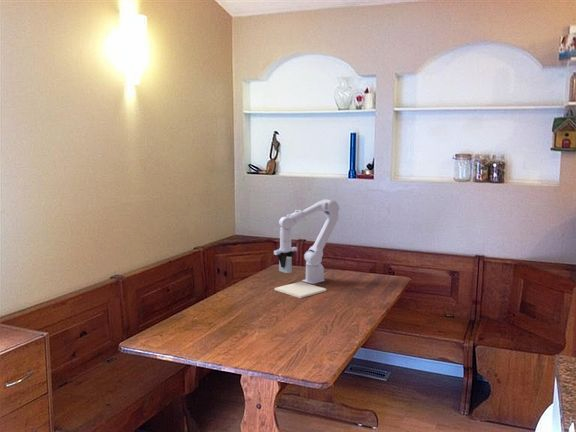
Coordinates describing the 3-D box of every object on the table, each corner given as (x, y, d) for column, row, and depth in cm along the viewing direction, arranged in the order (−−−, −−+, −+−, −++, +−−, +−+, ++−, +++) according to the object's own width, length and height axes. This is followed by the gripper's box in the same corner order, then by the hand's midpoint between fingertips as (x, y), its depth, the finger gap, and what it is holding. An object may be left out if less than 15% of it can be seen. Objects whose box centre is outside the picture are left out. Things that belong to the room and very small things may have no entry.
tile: (300, 283, 271) (300, 281, 271) (326, 290, 259) (326, 288, 258) (274, 290, 259) (274, 288, 259) (300, 298, 246) (300, 296, 246)
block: (283, 270, 273) (283, 255, 272) (291, 272, 269) (291, 257, 268) (279, 271, 271) (279, 255, 270) (287, 273, 267) (287, 257, 266)
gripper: (290, 237, 275) (290, 263, 277) (269, 241, 265) (269, 267, 267) (300, 239, 270) (299, 265, 272) (279, 243, 260) (279, 270, 262)
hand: (285, 266), depth 270 cm, fingers closed on block, 3 cm apart
